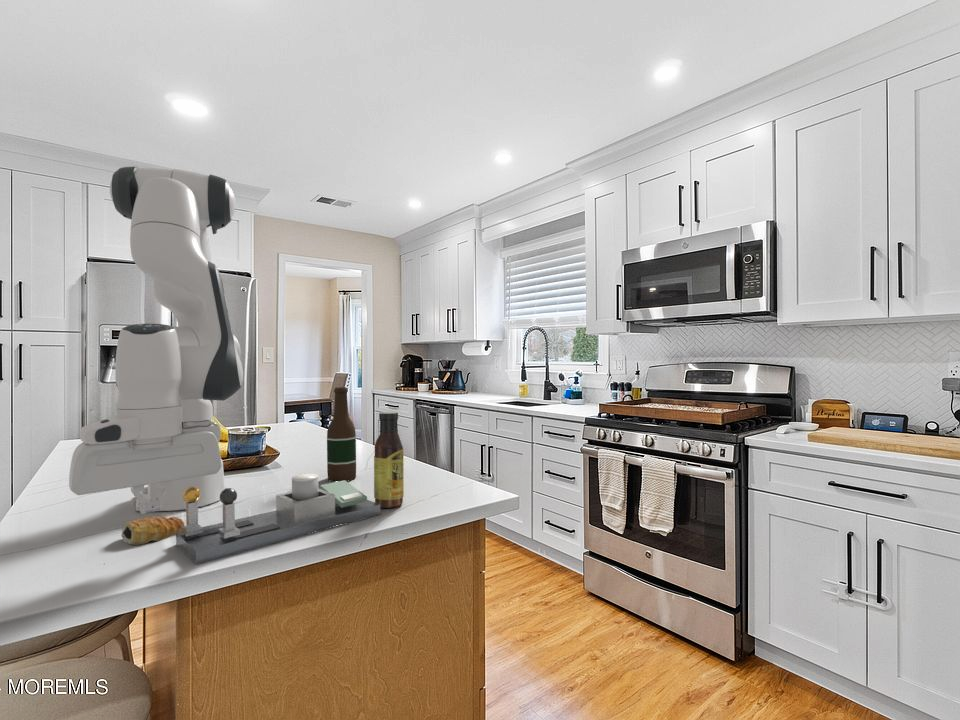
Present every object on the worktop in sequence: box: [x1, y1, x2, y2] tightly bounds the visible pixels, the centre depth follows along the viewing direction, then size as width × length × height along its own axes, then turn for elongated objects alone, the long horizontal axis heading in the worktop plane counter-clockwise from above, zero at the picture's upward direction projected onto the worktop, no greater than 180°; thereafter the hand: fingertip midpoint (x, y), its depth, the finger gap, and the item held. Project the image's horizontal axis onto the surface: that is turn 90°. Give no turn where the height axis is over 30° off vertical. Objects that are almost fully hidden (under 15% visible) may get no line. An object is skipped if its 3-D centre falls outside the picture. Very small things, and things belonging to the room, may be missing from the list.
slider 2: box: [218, 487, 240, 538], centre depth 83 cm, size 3×3×8 cm
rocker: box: [319, 480, 368, 508], centre depth 102 cm, size 9×6×1 cm, turn 45°
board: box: [175, 487, 381, 565], centre depth 93 cm, size 12×34×6 cm, turn 135°
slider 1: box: [181, 487, 203, 536], centre depth 84 cm, size 3×3×8 cm
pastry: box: [121, 516, 186, 546], centre depth 90 cm, size 9×7×4 cm
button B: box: [291, 473, 320, 501], centre depth 96 cm, size 5×5×4 cm
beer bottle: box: [326, 386, 357, 482], centre depth 132 cm, size 8×8×24 cm
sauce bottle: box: [373, 411, 405, 509], centre depth 108 cm, size 7×6×20 cm
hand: (151, 511), depth 80 cm, fingers closed
